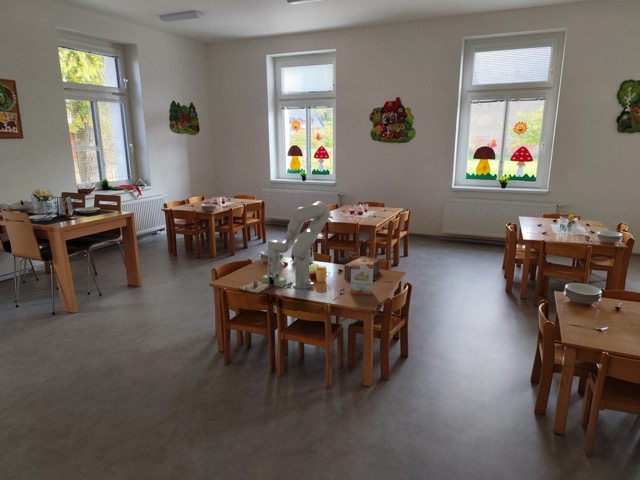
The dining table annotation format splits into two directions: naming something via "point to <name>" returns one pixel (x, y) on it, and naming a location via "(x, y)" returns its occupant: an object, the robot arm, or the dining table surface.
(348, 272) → the tissue box cover
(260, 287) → the board
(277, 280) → the flange bar
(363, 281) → the cracker box
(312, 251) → the milk container
